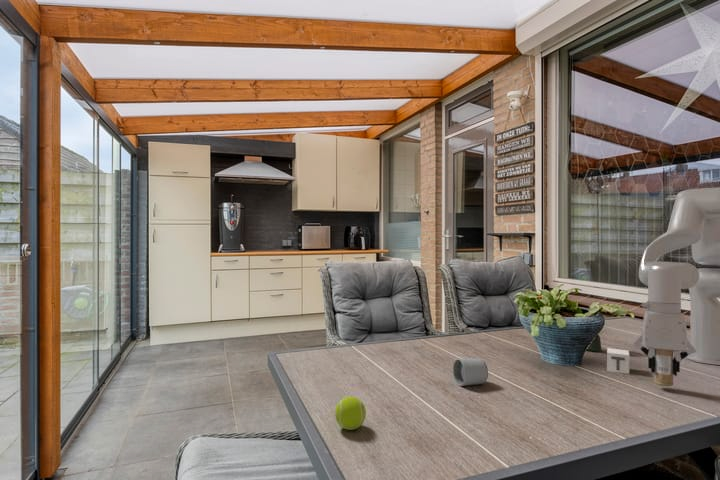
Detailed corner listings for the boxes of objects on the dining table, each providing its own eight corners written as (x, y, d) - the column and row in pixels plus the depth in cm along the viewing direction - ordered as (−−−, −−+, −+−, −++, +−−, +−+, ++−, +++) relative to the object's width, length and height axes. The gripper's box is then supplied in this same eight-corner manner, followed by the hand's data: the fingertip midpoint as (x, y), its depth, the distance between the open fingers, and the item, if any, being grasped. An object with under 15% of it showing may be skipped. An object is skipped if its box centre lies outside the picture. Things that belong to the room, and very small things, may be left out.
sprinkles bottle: (676, 384, 120) (676, 336, 120) (669, 388, 117) (669, 339, 117) (657, 380, 124) (658, 333, 123) (650, 383, 121) (650, 335, 121)
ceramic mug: (490, 387, 123) (490, 360, 123) (464, 389, 121) (464, 362, 121) (471, 375, 133) (471, 351, 133) (447, 378, 131) (447, 353, 131)
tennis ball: (335, 435, 94) (334, 404, 94) (335, 421, 101) (335, 392, 101) (366, 435, 94) (366, 403, 94) (364, 421, 101) (364, 391, 101)
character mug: (592, 346, 166) (592, 312, 166) (610, 350, 160) (610, 315, 160) (573, 349, 162) (573, 315, 161) (590, 354, 155) (591, 318, 155)
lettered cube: (607, 366, 142) (607, 348, 142) (628, 369, 139) (628, 350, 139) (606, 371, 136) (607, 352, 136) (629, 374, 133) (629, 355, 133)
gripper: (628, 307, 121) (628, 371, 122) (704, 313, 112) (704, 382, 113) (628, 303, 128) (627, 364, 128) (699, 308, 119) (699, 373, 119)
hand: (663, 372), depth 120 cm, fingers closed on sprinkles bottle, 4 cm apart
